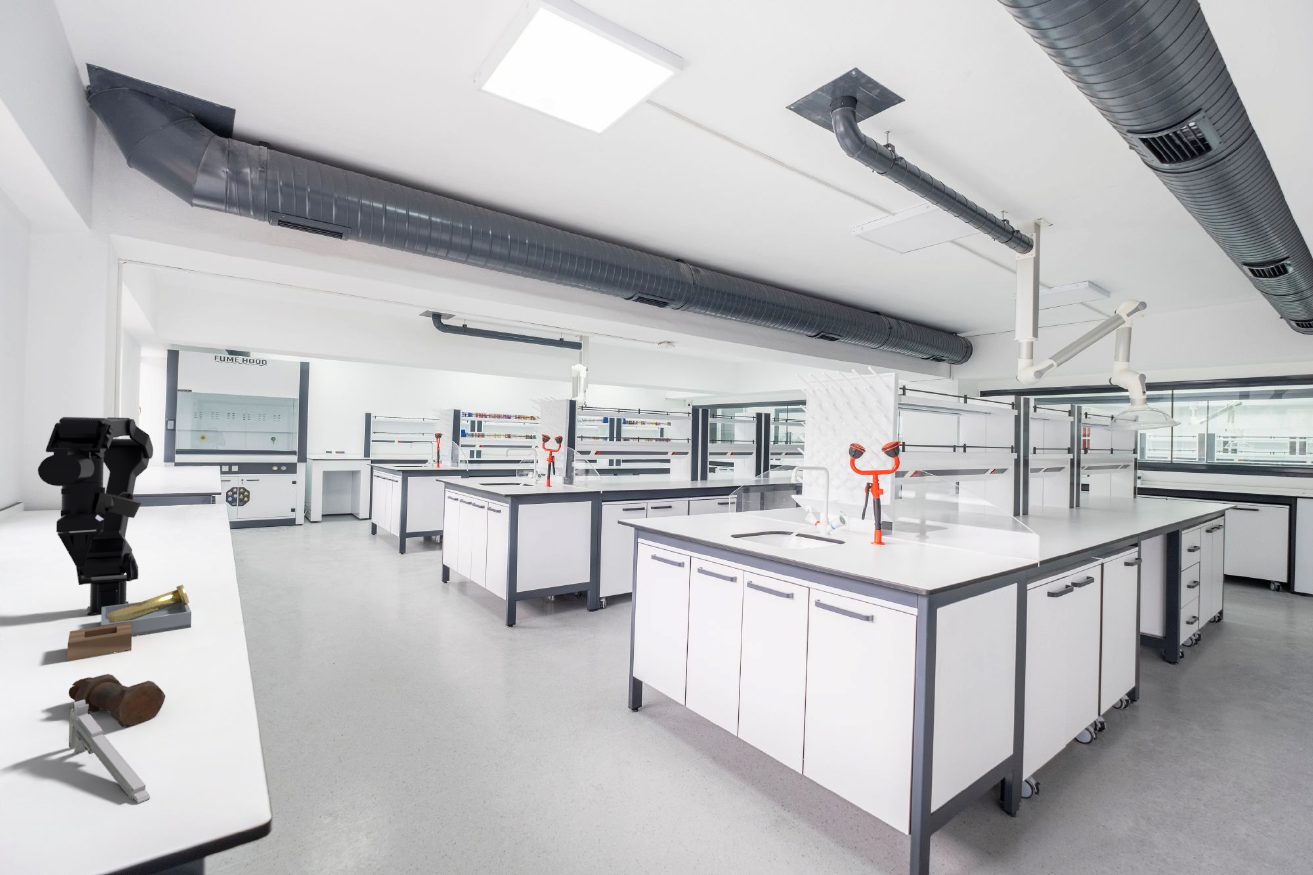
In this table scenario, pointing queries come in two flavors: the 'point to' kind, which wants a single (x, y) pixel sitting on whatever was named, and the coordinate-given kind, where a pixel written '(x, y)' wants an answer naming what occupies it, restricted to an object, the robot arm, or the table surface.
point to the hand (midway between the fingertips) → (81, 562)
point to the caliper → (103, 751)
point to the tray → (153, 619)
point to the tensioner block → (99, 641)
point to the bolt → (119, 698)
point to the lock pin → (149, 606)
